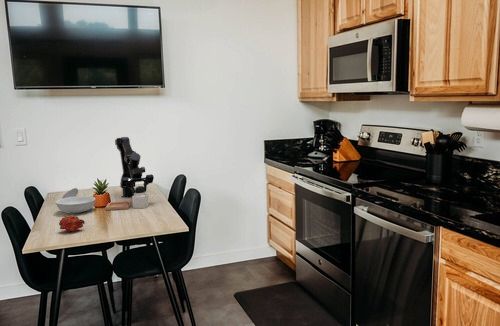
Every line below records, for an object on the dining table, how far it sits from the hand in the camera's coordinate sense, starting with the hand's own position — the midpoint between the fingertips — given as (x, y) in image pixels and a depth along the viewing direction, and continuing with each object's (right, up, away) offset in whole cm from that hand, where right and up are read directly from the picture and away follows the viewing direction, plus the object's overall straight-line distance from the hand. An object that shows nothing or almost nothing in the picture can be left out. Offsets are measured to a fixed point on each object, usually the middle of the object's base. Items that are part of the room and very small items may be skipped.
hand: (140, 192), depth 248 cm
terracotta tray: (-13, -9, +2) cm, 16 cm away
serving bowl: (-35, -11, -4) cm, 37 cm away
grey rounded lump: (-48, -8, +20) cm, 53 cm away
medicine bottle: (0, -9, +3) cm, 9 cm away
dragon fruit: (-22, -16, -41) cm, 49 cm away
